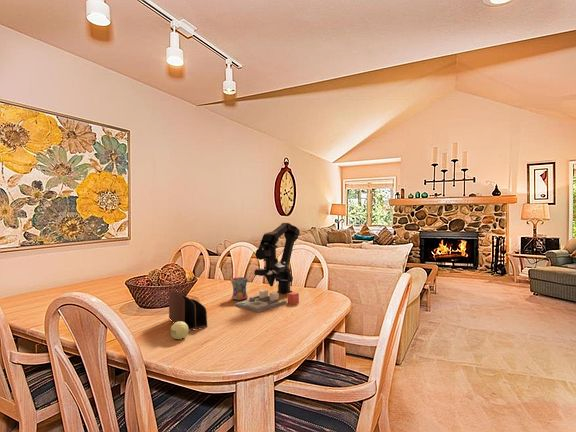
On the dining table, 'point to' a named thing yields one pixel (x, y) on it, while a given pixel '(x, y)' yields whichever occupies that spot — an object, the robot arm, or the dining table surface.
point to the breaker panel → (260, 303)
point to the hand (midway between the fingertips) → (271, 286)
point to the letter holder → (187, 311)
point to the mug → (239, 288)
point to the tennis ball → (179, 330)
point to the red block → (293, 298)
